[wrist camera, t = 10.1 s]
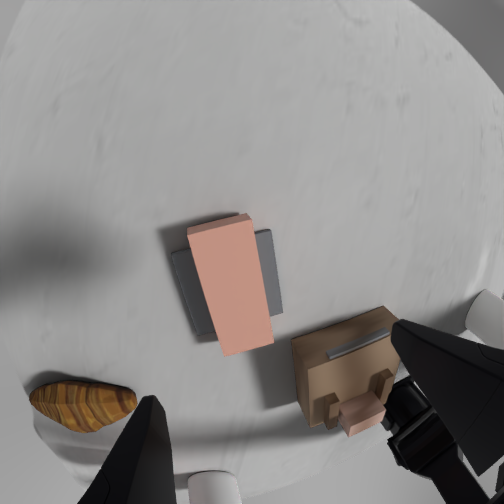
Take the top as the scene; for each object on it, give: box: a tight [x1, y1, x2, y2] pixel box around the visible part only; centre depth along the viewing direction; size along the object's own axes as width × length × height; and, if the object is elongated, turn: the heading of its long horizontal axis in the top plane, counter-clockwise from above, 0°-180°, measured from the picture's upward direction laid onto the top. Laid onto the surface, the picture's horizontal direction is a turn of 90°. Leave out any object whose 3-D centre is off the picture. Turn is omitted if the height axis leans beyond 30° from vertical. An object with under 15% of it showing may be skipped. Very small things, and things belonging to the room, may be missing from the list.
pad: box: [171, 229, 283, 335], centre depth 20 cm, size 7×7×1 cm
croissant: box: [29, 380, 138, 433], centre depth 19 cm, size 14×7×5 cm, turn 95°
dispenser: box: [291, 306, 400, 437], centre depth 23 cm, size 10×10×7 cm
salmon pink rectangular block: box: [187, 213, 274, 357], centre depth 19 cm, size 4×10×2 cm, turn 10°
